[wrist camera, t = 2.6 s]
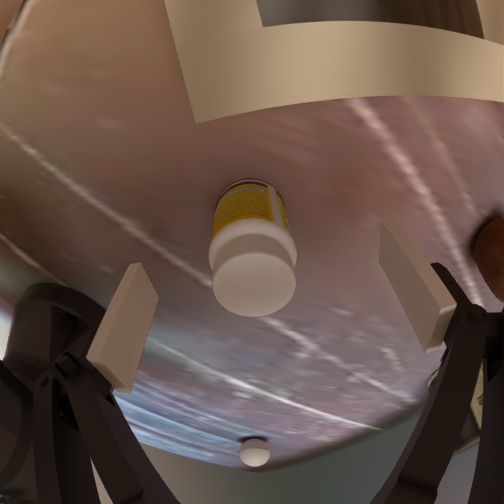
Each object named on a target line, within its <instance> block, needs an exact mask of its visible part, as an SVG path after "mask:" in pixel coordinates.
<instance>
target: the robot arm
mask: <svg viewBox="0 0 504 504" xmlns="http://www.w3.org/2000/svg"><path fill="white" fill-rule="evenodd" d="M379 263H380V265H381V267H382V269H383V270H384V272H385V274H386V276H387V278H388V279H389V281H390V283H391V285H392V287H393V289H394V291H395V293H396V294H397V296H398V298H399V300H400V302H401V304H402V306H403V308H404V310H405V312H406V314H407V316H408V318H409V320H410V322H411V324H412V326H413V328H414V331H415V333H416V335H417V337H418V339H419V341H420V344H421V346H422V348H423V350H424V352H425V353H428V352H431V351H434V350H437V349H440V347H441V344H442V342H443V341H444V342H445V344H446V346H447V348H446V350H445V352H444V354H443V356H442V358H441V361H442V362H441V365H440V368H439V371H438V373H437V376H436V379H435V382H434V384H433V387H432V389H431V392H430V395H429V397H428V399H427V402H426V404H425V407H424V409H423V411H422V413H421V416H420V418H419V420H418V423H417V424H416V427H415V429H414V431H413V433H412V435H411V437H410V439H409V441H408V443H407V445H406V447H405V449H404V451H403V452H402V454H401V456H400V458H399V460H398V461H397V463H396V465H395V467H394V469H393V470H392V472H391V474H390V475H389V477H388V478H387V480H386V482H385V483H384V485H383V486H382V488H381V489H380V491H379V492H378V493H377V494H376V496H375V497H374V498H373V499H372V501H371V503H370V504H434V502H435V500H436V497H437V488H438V485H439V483H440V481H441V479H442V477H443V475H444V473H445V471H446V468H447V466H448V464H449V462H450V459H451V457H452V455H453V453H454V450H455V448H456V445H457V443H458V440H459V437H460V435H461V432H462V429H463V426H464V424H465V421H466V418H467V415H468V412H469V408H470V405H471V402H472V398H473V395H474V391H475V387H476V384H477V380H478V376H479V371H480V367H481V362H482V359H483V405H482V421H481V432H480V441H479V449H478V456H477V462H476V468H475V473H474V478H473V483H472V487H471V492H470V496H469V500H468V504H504V308H503V310H502V312H495V313H488V312H486V310H485V309H484V308H483V307H481V306H479V305H477V304H472V303H471V302H470V300H469V299H468V297H467V296H466V294H465V293H464V292H463V290H462V289H461V287H460V286H459V285H458V283H456V280H455V279H454V278H453V277H452V275H451V274H450V272H449V271H448V270H447V268H446V267H444V266H443V265H441V264H440V263H438V262H436V263H432V264H429V262H428V261H427V260H426V258H425V257H424V256H423V254H422V253H421V252H420V250H419V249H418V248H417V246H416V245H415V244H414V243H413V241H412V240H411V239H410V237H409V236H408V235H407V234H406V232H405V231H404V230H403V229H402V227H401V226H400V225H399V224H398V223H397V221H396V220H395V219H394V218H387V219H381V220H380V249H379ZM158 300H159V297H158V295H157V293H156V291H155V289H154V288H153V286H152V284H151V282H150V280H149V278H148V276H147V274H146V272H145V270H144V268H143V266H142V263H141V262H139V263H134V264H130V265H129V267H128V268H127V270H126V272H125V274H124V276H123V278H122V280H121V282H120V284H119V286H118V288H117V290H116V292H115V294H114V296H113V298H112V300H111V302H110V304H109V307H108V309H107V311H105V310H104V309H103V308H101V307H100V306H99V305H97V304H96V303H95V302H93V301H92V300H90V299H88V298H87V297H85V296H83V295H81V294H80V293H78V292H76V291H73V290H71V289H69V288H66V287H63V286H59V285H55V284H48V283H41V284H36V285H33V286H31V287H29V288H28V289H27V290H26V291H25V292H24V294H23V295H22V297H21V298H20V300H19V301H18V303H17V305H16V307H15V310H14V314H13V318H12V322H11V327H10V332H9V337H8V342H7V348H6V353H5V356H4V358H3V360H2V361H1V360H0V504H101V503H100V499H99V495H98V491H97V487H96V483H95V478H94V474H93V469H92V464H91V459H92V462H93V464H94V466H95V468H96V470H97V473H98V474H99V477H100V479H101V481H102V483H103V485H104V487H105V489H106V491H107V493H108V495H109V497H110V498H111V500H112V502H113V504H181V503H179V501H178V500H177V499H176V498H175V496H174V495H173V493H172V492H171V491H170V489H169V488H168V487H167V485H166V484H165V483H164V481H163V480H162V478H161V477H160V475H159V474H158V472H157V471H156V469H155V468H154V466H153V465H152V463H151V462H150V460H149V458H148V457H147V455H146V454H145V452H144V450H143V449H142V447H141V445H140V444H139V442H138V440H137V439H136V437H135V435H134V433H133V432H132V430H131V428H130V426H129V425H128V423H127V421H126V419H125V417H124V415H123V413H122V411H121V409H120V407H119V406H118V404H117V402H116V400H115V397H114V395H113V394H112V392H113V390H114V389H116V390H117V391H118V392H130V393H131V391H132V387H133V383H134V379H135V376H136V372H137V369H138V365H139V361H140V358H141V355H142V351H143V348H144V344H145V341H146V338H147V335H148V331H149V328H150V325H151V322H152V319H153V316H154V312H155V309H156V306H157V303H158ZM90 457H91V459H90Z"/></svg>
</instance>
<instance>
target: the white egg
mask: <svg viewBox="0 0 504 504" xmlns="http://www.w3.org/2000/svg"><path fill="white" fill-rule="evenodd" d="M233 449H234V448H233ZM238 450H239V455H240V458H241V460H242V461H243V462H244V463H245V464H247V465H249V466H260V465H262V464H264V463H265V462H267V461H268V459H269V457H270V448H269V446H268V445H267V443H266V442H264V441H263V440H260V439H250V440H247V441H245V442H244V443H243V444H242V445H241V447H240V449H238Z"/></svg>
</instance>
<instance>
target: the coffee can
mask: <svg viewBox="0 0 504 504" xmlns="http://www.w3.org/2000/svg"><path fill="white" fill-rule="evenodd" d="M438 371H439V369H438V370H437V371H436V372H435V373H434V374H433V375H432V376H431V378H430V379H429V380H428V383H427V387H428V388H429V391H430V392H431V389H432V387H433V384H434V382H435V379H436V376H437V373H438ZM482 405H483V366H482V364H481V367H480V371H479V376H478V380H477V384H476V387H475V391H474V395H473V398H472V402H471V405H470V408H469V412H468V415H467V418H466V421H465V424H464V426H463V429H462V432H461V435H460V437H459V440H458V443H457V445H456V448H455V450H454V453H453V455H452V456H454V455H457V454H459V453H461V452H464V451H466V450H468V449H470V448H471V447H473V446H475V445H477V444H478V443H479V441H480V432H481V421H482Z"/></svg>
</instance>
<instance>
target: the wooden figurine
mask: <svg viewBox="0 0 504 504" xmlns="http://www.w3.org/2000/svg"><path fill="white" fill-rule="evenodd" d="M473 251H474V257H475V262H476V264H477V266H478V269H479V271H480V273H481V275H482V276H483V278H484V280H485V282H486V283H487V285H488V286H489V288H490V290H491V291H492V292H493V294H494V295H495V296H496V298H498V299H499V300H500V301H501V302H504V219H495V220H493V221H492V222H490V223H488V224H487V225H486V226H485V227H484V228H483V229H482V231H481V232H480V233H479V235H478V237H477V239H476V242H475V245H474V249H473Z"/></svg>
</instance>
